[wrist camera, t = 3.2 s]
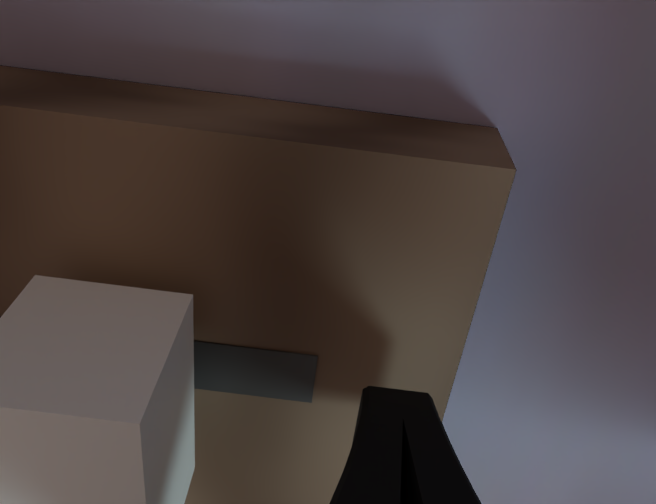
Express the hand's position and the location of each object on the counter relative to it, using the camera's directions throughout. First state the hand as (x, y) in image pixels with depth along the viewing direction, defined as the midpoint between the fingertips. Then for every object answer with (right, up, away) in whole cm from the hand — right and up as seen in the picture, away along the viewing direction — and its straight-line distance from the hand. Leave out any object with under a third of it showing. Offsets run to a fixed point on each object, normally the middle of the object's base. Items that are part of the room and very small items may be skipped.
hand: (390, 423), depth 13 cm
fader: (-6, +1, 0) cm, 6 cm away
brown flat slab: (-8, +3, +2) cm, 9 cm away
